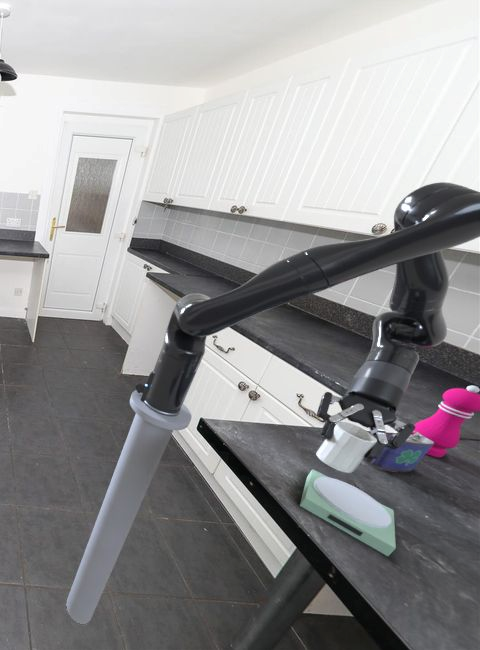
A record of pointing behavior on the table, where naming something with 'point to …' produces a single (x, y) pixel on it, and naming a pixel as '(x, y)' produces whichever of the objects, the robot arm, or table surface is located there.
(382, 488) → the table surface
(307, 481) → the scale
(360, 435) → the cup
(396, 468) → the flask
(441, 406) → the pepper mill
